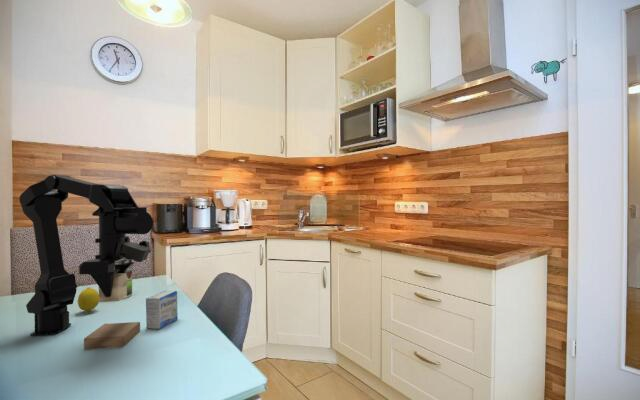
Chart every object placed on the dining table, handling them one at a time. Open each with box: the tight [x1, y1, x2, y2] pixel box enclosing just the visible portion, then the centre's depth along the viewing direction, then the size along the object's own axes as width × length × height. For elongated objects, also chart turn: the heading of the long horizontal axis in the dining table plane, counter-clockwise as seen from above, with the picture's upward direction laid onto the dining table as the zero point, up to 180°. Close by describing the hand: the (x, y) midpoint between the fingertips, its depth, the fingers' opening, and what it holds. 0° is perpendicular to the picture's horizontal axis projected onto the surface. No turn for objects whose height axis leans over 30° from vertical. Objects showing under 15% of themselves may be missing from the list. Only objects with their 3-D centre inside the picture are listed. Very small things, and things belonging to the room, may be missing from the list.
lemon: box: [77, 287, 100, 313], centre depth 100 cm, size 6×6×8 cm
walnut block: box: [83, 321, 141, 350], centre depth 80 cm, size 9×9×3 cm
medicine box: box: [145, 289, 178, 330], centre depth 91 cm, size 8×4×9 cm, turn 168°
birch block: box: [98, 273, 127, 303], centre depth 80 cm, size 4×4×6 cm
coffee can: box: [121, 259, 133, 300], centre depth 116 cm, size 10×10×14 cm
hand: (113, 293), depth 80 cm, fingers closed on birch block, 4 cm apart
